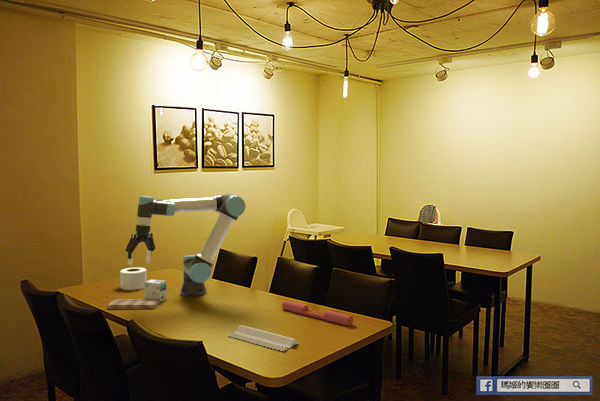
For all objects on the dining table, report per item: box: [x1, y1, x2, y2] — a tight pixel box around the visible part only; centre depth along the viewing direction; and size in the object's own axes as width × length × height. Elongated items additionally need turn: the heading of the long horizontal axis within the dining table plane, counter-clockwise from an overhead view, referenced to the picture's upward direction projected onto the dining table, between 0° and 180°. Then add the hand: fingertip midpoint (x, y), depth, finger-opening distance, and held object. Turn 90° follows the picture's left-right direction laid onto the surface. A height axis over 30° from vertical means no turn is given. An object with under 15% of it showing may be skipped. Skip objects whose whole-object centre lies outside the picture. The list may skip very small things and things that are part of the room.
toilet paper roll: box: [119, 266, 148, 291], centre depth 303 cm, size 16×15×11 cm
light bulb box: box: [143, 279, 168, 303], centre depth 275 cm, size 11×7×11 cm, turn 71°
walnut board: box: [107, 298, 161, 310], centre depth 263 cm, size 25×11×2 cm, turn 92°
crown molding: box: [227, 324, 300, 352], centre depth 214 cm, size 31×12×4 cm, turn 55°
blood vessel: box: [281, 299, 354, 327], centre depth 247 cm, size 42×5×5 cm, turn 52°
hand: (139, 263), depth 262 cm, fingers open, 13 cm apart
